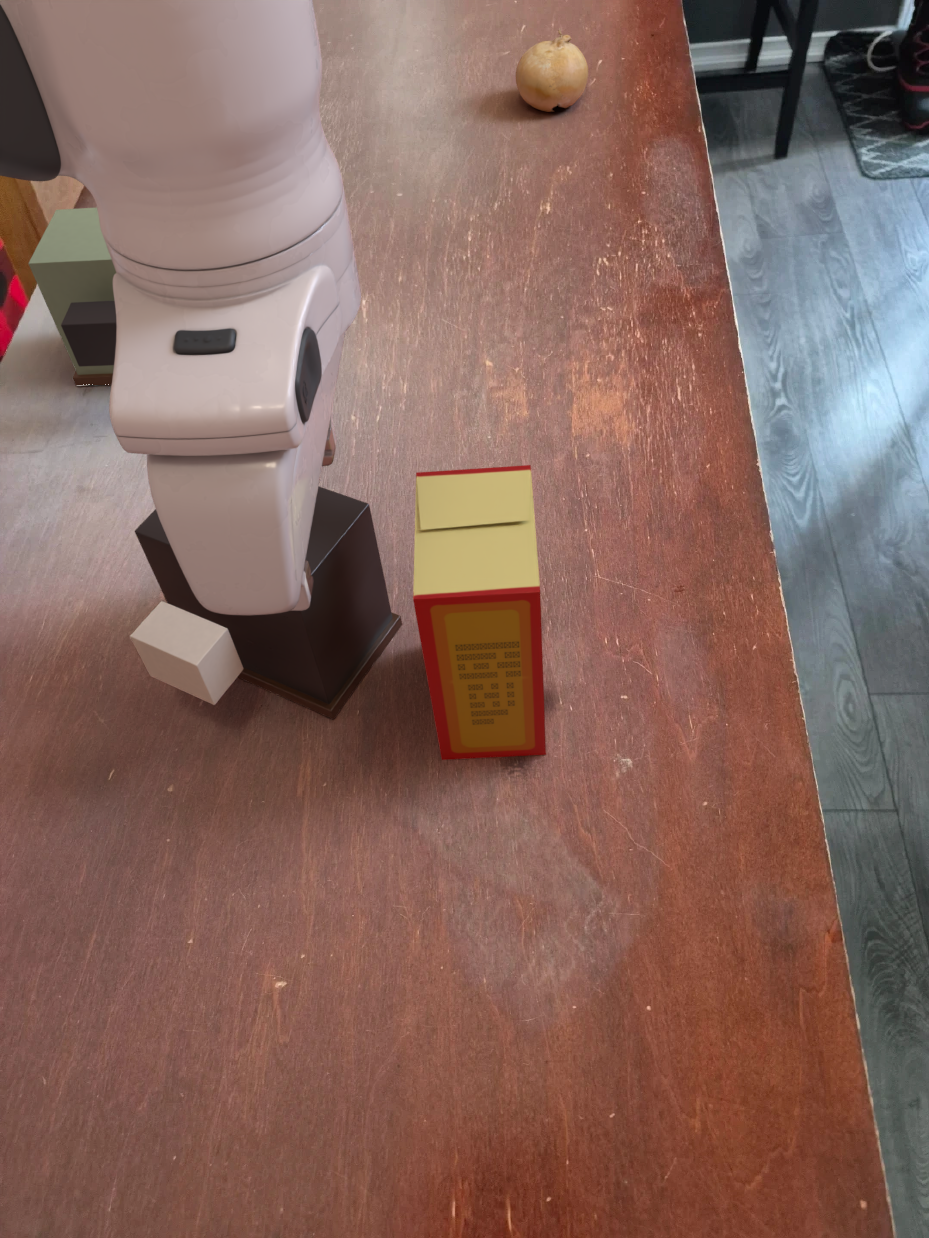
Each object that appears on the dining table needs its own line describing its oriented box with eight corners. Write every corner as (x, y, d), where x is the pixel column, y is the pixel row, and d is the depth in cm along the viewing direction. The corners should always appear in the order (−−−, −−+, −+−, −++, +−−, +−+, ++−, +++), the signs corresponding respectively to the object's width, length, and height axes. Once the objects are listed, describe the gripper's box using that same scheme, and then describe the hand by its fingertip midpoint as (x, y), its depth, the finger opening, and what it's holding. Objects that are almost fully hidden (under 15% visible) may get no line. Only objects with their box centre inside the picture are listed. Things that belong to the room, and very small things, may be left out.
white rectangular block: (214, 705, 64) (196, 665, 60) (149, 676, 65) (128, 635, 62) (244, 669, 65) (227, 628, 62) (180, 641, 67) (161, 600, 64)
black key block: (333, 720, 69) (297, 601, 60) (180, 652, 74) (124, 533, 65) (402, 624, 74) (378, 501, 65) (254, 566, 79) (212, 443, 69)
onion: (577, 123, 117) (577, 55, 111) (508, 117, 119) (504, 51, 113) (594, 89, 121) (595, 23, 116) (527, 84, 123) (525, 19, 118)
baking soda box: (545, 754, 67) (540, 587, 54) (441, 759, 67) (412, 594, 55) (537, 635, 73) (530, 460, 60) (441, 640, 73) (415, 467, 61)
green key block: (217, 381, 93) (178, 259, 84) (75, 387, 94) (21, 266, 85) (235, 320, 98) (200, 199, 89) (101, 326, 100) (52, 207, 90)
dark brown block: (139, 364, 85) (122, 322, 82) (78, 367, 86) (60, 325, 83) (147, 341, 87) (132, 299, 84) (88, 344, 88) (70, 302, 85)
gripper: (211, 140, 48) (275, 387, 58) (94, 453, 35) (204, 695, 46) (351, 133, 47) (389, 383, 58) (284, 448, 34) (350, 694, 45)
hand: (307, 523), depth 52 cm, fingers open, 8 cm apart
